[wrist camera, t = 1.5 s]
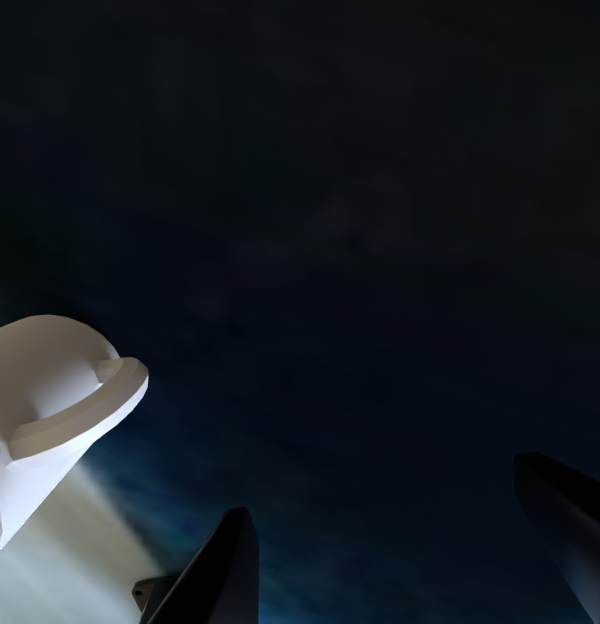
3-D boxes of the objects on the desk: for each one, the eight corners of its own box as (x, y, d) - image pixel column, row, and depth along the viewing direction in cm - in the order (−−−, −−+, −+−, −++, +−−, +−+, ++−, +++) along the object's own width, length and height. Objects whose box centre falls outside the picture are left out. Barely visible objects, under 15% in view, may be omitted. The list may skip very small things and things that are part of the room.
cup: (-28, 329, 18) (-311, 434, 10) (150, 284, 18) (17, 355, 9) (34, 440, 20) (-154, 608, 12) (195, 403, 20) (121, 552, 11)
